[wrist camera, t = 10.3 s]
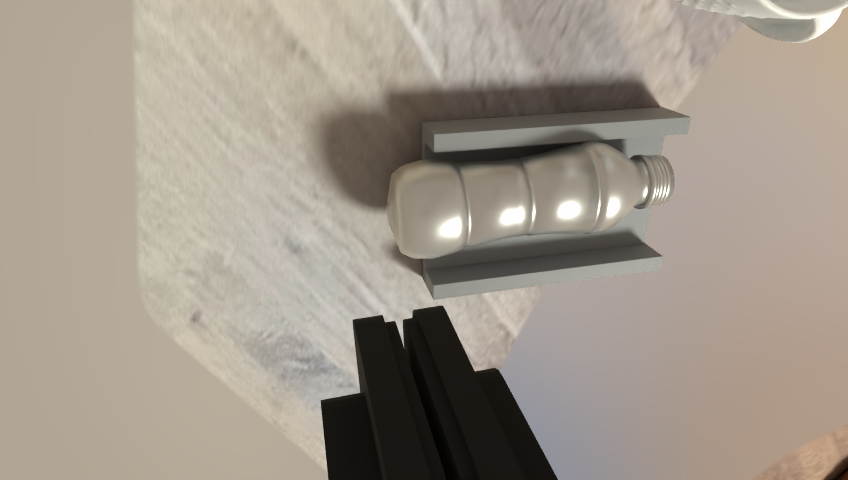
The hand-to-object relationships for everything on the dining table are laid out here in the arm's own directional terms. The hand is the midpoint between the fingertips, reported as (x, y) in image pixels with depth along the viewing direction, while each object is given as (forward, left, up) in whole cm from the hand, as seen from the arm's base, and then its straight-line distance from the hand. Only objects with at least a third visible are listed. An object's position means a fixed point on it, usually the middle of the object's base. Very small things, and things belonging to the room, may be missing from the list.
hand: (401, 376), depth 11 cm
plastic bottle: (+8, +4, -26) cm, 27 cm away
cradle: (+9, +17, -30) cm, 35 cm away
